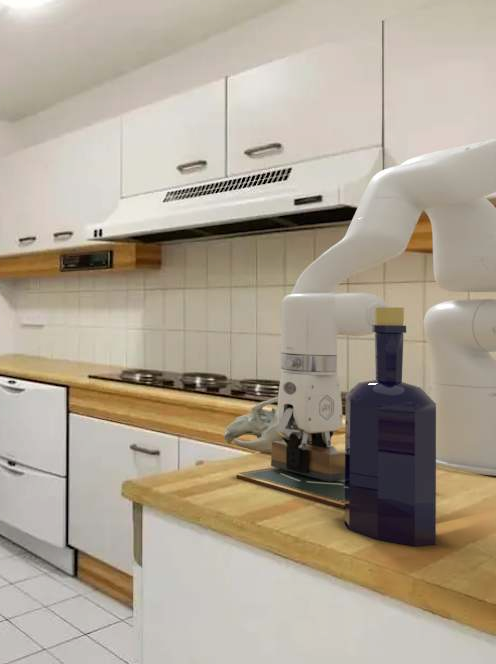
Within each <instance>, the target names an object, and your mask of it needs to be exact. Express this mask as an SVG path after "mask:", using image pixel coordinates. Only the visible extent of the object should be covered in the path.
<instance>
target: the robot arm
mask: <svg viewBox="0 0 496 664" xmlns="http://www.w3.org/2000/svg"><path fill="white" fill-rule="evenodd" d="M494 193H496V138H491V139H486V140H483V141H478V142H472V143H469V144H464V145H461V146H455V147H449V148H445V149H441V150H436V151H432V152H428V153H425V154H421V155H418V156H415V157H412V158H409V159H407V160H405V161H403V162H402V163H401V164H398V165H394V166H391V167H388V168H385V169H383V170H381V171H379V172H378V173H375V175H374V176H373V177H372V178H371V179H370V181H368V184H367V186H366V188H365V190H364V193H363V194H362V197H361V200H360V202H359V204H358V206H357V208H356V210H355V213H354V214H353V217H352V219H351V222H350V224H349V226H348V228H347V230H346V233H345V234H344V237H343V238H342V239H341V240H340V241H338V242H337V243H335V244H333V245H332V246H331V247H329V249H327V250H326V251H324V252H323V253H322V254H321V255H320V256H319V257H317V258H316V259H315V260H314V261H313V262H311V263H310V264H309V265H308V266H307V267H306V268H305V269H303V271H302V272H301V274H300V275H299V277H298V278H297V280H296V282H295V284H294V287H293V289H292V291H291V293H290V294H287V295H285V296H284V297H283V298H282V300H281V303H280V305H281V306H280V372H281V373H280V374H281V375H280V380H279V387H278V396H277V397H278V402H277V406H278V423H279V425H278V427H277V429H276V430H277V432H278V433H279V434H280V435H281V436H282V438H283V440H284V445H285V446H286V467H287V469H290V470H293V471H297V472H301V473H308V472H309V450H306V444H309V445H313V446H318V447H322V448H327V449H329V447H330V446H332V437H333V435H334V432H335V431H339V430H340V429H341V428H342V427H343V404H342V392H341V384H340V380H339V376H338V336H347V337H348V336H350V337H351V336H352V337H363V336H369V335H373V334H374V335H375V332H372V326H373V325H375V308H390V306H389V305H388V304H387V302H386V301H385V300H384V299H383V298H381V297H379V296H377V295H375V294H372V293H369V292H333V291H334V290H335V289H336V288H337V287H338V286H339V285H340V284H341V283H343V282H344V281H345V280H346V281H347V279H349V278H351V277H352V276H355V275H356V274H357V275H358V274H359V273H361V272H364V271H366V270H368V269H371V268H374V267H377V266H379V265H382V264H384V263H386V262H388V261H390V260H393V259H396V258H397V257H399V256H401V255H402V254H403V253H404V252H405V251H406V249H407V247H408V245H409V243H410V240H411V238H412V235H413V233H414V231H415V229H416V227H417V225H418V222H419V219H420V217H421V215H422V213H423V212H425V213H426V216H427V217H428V219H429V222H430V225H431V236H432V265H433V266H432V267H433V277H434V280H435V283H436V285H437V286H438V287H439V288H440V289H442V290H444V291H447V292H455V293H496V207H495V206H494V204H493V203H492V202H491V201H490V200H489V199H487V198H486V197H487V196H489V195H492V194H494ZM422 322H423V332H424V335H425V339H426V343H427V347H428V353H429V361H430V398H431V399H432V400H433V401H434V402H435V403H436V467H439V468H444V469H449V470H454V471H460V472H463V473H469V474H475V475H481V476H490V477H491V476H492V477H493V476H494V477H496V359H495V358H494V356H493V355H492V354H491V353H493V352H494V353H496V299H493V298H483V299H482V298H479V299H478V298H476V299H475V298H474V299H471V298H470V299H452V300H446V301H442V302H439V303H437V304H434V305H433V306H431V307H430V308H429V309H428V310H427V311H426V312H425V314H424V317H423V321H422ZM294 428H299V429H302V430H297V429H294ZM294 433H298V434H300V438H298V437H297V436H296V434H294ZM308 436H309V442H310V443H312V444H310V443H307V438H308ZM326 446H327V447H326Z"/></svg>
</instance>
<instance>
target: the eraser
mask: <svg viewBox="0 0 496 664" xmlns="http://www.w3.org/2000/svg"><path fill="white" fill-rule="evenodd" d="M306 450H309V472H308V473H301V472H297V471H293V470H290V469H287V467H286V446H285V445H284V440H283V441H272V450H271V451H272V452H271V455H270V456H271V457H270V466H271V468H275V467H276V468H279V469H284V470H287V471H291V472H295V473H298V474H302V475H306V476H309V477H313V478H317V479H321V480H324V481H328V482H329V481H336V480H344V479H345V451H341V450H337V451H336V450H331V449H327V448H322V447H318V446H313V445H309V444H306Z"/></svg>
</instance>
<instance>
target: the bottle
mask: <svg viewBox="0 0 496 664" xmlns="http://www.w3.org/2000/svg"><path fill="white" fill-rule="evenodd" d="M404 319H405V307H396V306H395V307H389V308H375V325H373V326H372V332H375V333H374V354H375V355H374V356H375V357H374V358H375V360H374V361H375V362H374V363H375V379H374V380H373V379H372V380H365V381H359V382H358V383H357V384H355V385H354V386H353V387H352V388H351V389H350V390H349V391H348V392H347V393H346V394H345V415H344V417H345V418H344V419H345V427H344V428H345V429H344V432H345V433H344V436H345V437H344V438H345V440H344V452H345V500H344V501H345V503H344V505H345V510H344V520H343V523H344V526H345V527H346V528H347V530H350V531H351V532H352V531H353V532H354V533H358V534H360V535H363V536H366V537H368V538H371V539H374V540H377V541H383V542H388V543H393V544H400V545H405V546H410V547H411V546H412V547H424V546H435V545H438V543H437V539H436V538H437V466H436V403H435V402H434V401H433V400H432V399H431V396H429V395H428V393H426V391H424V390H423V388H421V387H419V386H417V385H414V384H411V383H407V382H404V381H403V362H404V361H403V359H404V336H405V335H404V334H406V333H407V325H404Z"/></svg>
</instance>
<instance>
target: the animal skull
mask: <svg viewBox="0 0 496 664" xmlns="http://www.w3.org/2000/svg"><path fill="white" fill-rule="evenodd" d="M273 403H278V396H276V397H273V398H271V399H268V400H264V401H260V403H257V404H255V405H253V406H251V407H250V409H251V412H249V413H247V414H242V415H240V416H237V417H235V418H234V419H233V421H232V422H231V423H229V424H228V425H227V426H226V428H225V430H224V431H223V439H224V440H225V441H226V443H227V444H228V445H231V444H232V441H233V442H234V444H235V445H236V446H239V447H240V448H244V449H248V450H250V451H255V452H258V453H259V452H260V453H265V452H266V453H265V454H271V452H272V441H283V438H282V436H281V435H280V434H279V433H278V432H277V430H276V429H277V427H278V425H279V423H278V405H277V406H276V407H272V408H271V410H270V409H269V410H268V409H264V407H266V406H269V405H270V404H273ZM294 429H297V430H302V429H299V428H294ZM294 434H296V436H297V437H298V438H300V434H298V433H294ZM247 435H248V436H249V435H250V436H255V437H256V438H257V439H252V440H248V441H245V440H242V439H238V438H240V437H242V436H247ZM307 443H310V442H309V436H308V438H307ZM310 444H312V443H310ZM326 447H327V446H326ZM329 449H331V450H336V451H338V450H337V448H336V447H335V446H334V445H330V447H329Z"/></svg>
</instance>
